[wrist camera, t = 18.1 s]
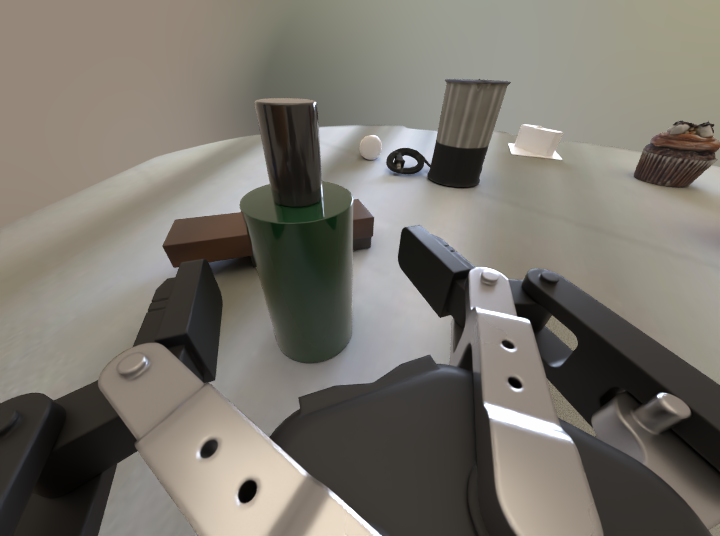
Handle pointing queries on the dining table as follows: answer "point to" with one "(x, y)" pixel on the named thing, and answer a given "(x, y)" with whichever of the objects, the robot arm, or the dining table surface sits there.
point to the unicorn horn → (370, 147)
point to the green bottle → (301, 235)
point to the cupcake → (678, 155)
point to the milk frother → (459, 133)
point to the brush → (237, 236)
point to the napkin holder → (536, 142)
